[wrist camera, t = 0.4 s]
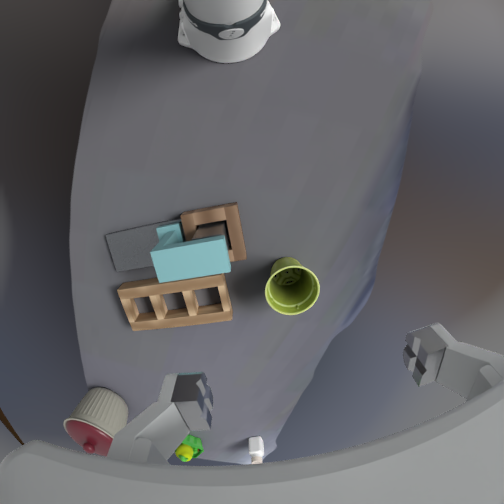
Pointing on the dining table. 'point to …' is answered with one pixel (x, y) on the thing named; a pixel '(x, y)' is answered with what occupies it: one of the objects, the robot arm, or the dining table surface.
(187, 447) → the fruit basket
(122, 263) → the socket frame
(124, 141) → the dining table surface
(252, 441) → the salt shaker
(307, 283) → the plant pot
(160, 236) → the plate
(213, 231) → the grey rectangular block
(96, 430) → the canister
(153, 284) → the rack
